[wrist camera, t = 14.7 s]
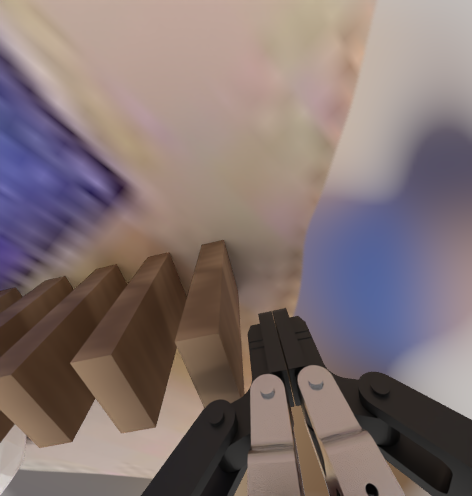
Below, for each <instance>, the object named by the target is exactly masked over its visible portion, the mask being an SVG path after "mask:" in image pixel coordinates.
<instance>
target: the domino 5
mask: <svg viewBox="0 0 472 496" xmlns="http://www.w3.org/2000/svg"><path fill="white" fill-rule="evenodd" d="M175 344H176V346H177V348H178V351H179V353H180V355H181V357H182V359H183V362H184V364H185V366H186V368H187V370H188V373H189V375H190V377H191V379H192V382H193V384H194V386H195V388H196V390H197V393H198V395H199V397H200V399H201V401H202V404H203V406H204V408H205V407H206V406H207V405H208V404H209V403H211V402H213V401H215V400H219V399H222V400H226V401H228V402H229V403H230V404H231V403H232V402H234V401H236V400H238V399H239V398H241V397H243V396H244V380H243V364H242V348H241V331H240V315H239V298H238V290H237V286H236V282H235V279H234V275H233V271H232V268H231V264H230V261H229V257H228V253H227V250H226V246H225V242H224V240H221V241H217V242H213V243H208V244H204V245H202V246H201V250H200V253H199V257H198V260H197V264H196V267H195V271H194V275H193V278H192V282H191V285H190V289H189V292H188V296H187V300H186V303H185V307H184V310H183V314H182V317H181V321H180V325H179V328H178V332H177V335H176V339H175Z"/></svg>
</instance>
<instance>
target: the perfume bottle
mask: <svg viewBox="0 0 472 496" xmlns="http://www.w3.org/2000/svg"><path fill="white" fill-rule="evenodd" d="M26 436H27V435H26V434H25V433H24V432H23V431H22V430H21V429H19V428H18V427H17V426H16V425H14V426H13V427H12V428H11V430H10V431H9V432H8V434H7V435H6V436H5V438H4V439H3V440H2V441H1V443H0V495H1V494H2V492H3V491H4V490H5V488H6V487H7V485H8V484H9V483H10V481H11V480H12V479H13V477H14V475H15V474H16V472H17V471H18V469H19V468H20V466H21V465H22V463H23V461H24V454H25V445H26Z"/></svg>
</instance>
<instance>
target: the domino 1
mask: <svg viewBox="0 0 472 496" xmlns="http://www.w3.org/2000/svg"><path fill="white" fill-rule="evenodd" d="M21 298H22V296H21V294H20V293H19V292H18V290H17V289H16V288H11V289H7V290H2V291H0V313H1V312H3V311H4V310H6V309H7V308H8V307H10V306H11V305H12V304H14V303H15V302H17V301H18V300H19V299H21Z"/></svg>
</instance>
